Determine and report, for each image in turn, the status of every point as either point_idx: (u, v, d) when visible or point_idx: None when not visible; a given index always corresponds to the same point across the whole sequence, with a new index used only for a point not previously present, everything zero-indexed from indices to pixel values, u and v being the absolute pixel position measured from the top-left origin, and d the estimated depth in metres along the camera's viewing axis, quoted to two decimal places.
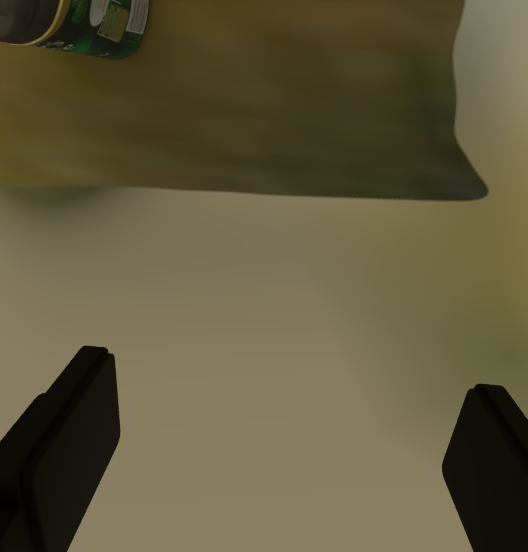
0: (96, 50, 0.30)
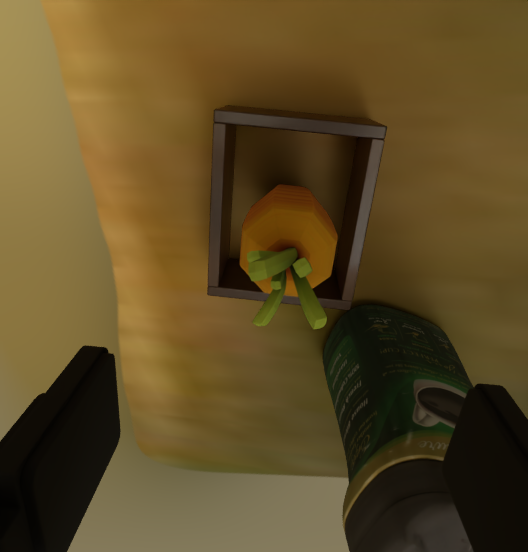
0: None
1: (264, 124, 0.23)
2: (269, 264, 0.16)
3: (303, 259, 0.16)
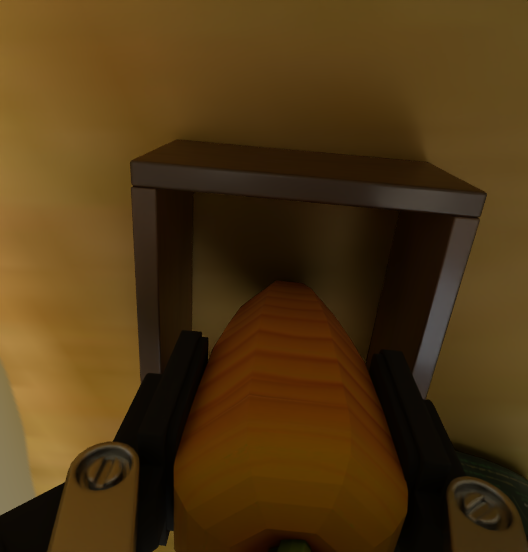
0: None
1: (234, 189, 0.11)
2: None
3: None
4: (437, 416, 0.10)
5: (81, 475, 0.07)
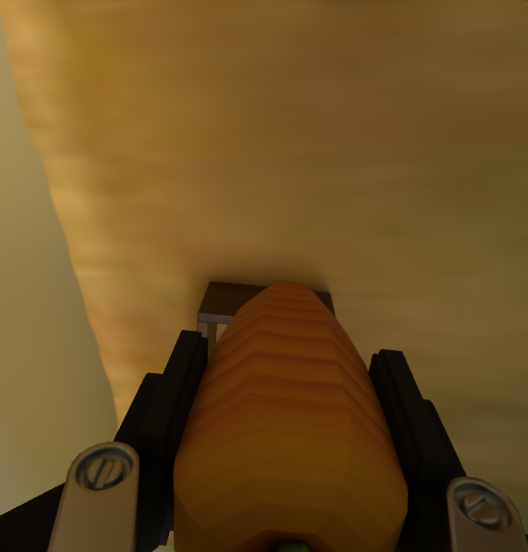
0: None
1: None
2: None
3: None
4: (437, 416, 0.10)
5: (81, 475, 0.07)
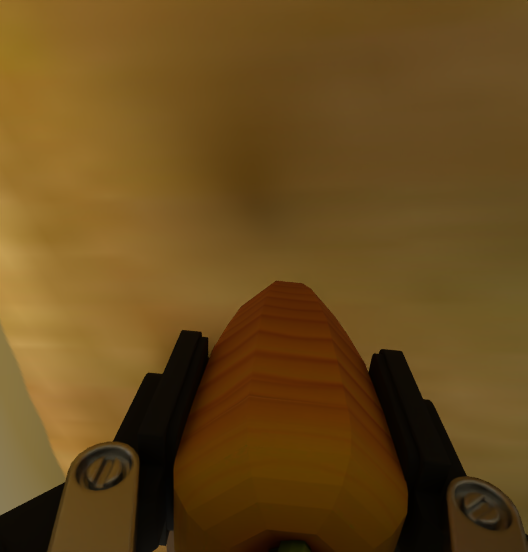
0: None
1: None
2: None
3: None
4: (436, 416, 0.10)
5: (81, 475, 0.07)
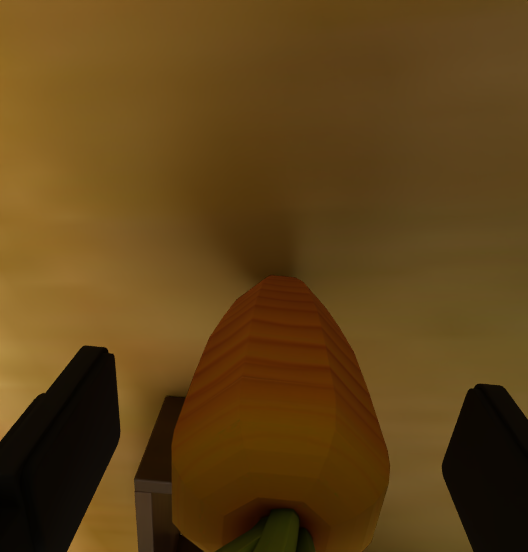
0: None
1: None
2: None
3: None
4: None
5: None
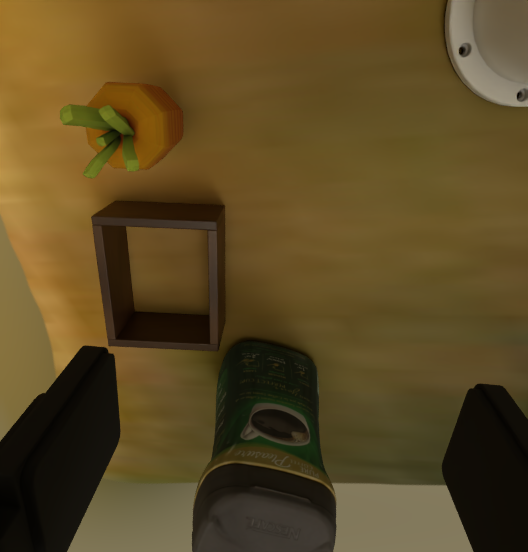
0: None
1: (128, 224, 0.31)
2: (76, 109, 0.19)
3: (108, 106, 0.20)
4: None
5: None
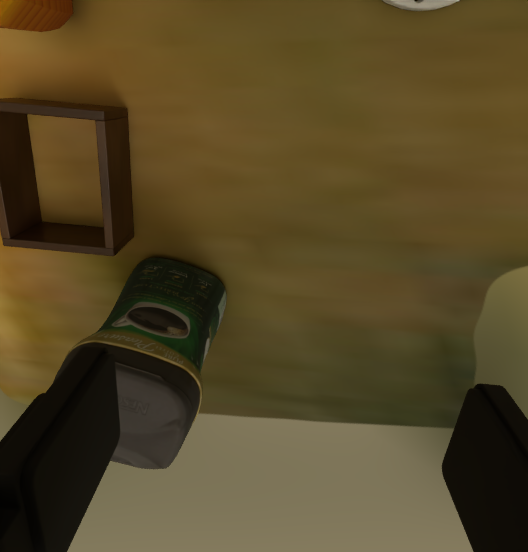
0: None
1: (15, 110, 0.31)
2: None
3: None
4: None
5: None
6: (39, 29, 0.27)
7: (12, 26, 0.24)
